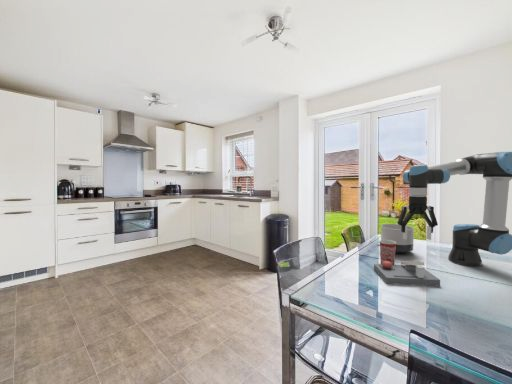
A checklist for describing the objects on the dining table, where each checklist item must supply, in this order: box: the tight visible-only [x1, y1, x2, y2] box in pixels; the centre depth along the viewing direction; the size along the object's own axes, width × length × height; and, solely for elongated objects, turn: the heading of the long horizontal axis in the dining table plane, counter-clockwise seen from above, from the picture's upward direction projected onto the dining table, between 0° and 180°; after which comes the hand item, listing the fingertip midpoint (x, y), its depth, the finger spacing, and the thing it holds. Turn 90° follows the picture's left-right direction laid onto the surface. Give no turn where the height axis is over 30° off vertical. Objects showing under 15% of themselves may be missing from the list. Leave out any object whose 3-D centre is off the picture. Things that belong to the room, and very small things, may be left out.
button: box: [381, 261, 392, 268], centre depth 127 cm, size 4×4×2 cm
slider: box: [416, 265, 426, 278], centre depth 114 cm, size 3×3×5 cm
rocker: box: [400, 260, 425, 266], centre depth 124 cm, size 6×12×2 cm, turn 171°
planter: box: [380, 223, 415, 254], centre depth 161 cm, size 19×19×18 cm
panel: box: [373, 263, 441, 287], centre depth 122 cm, size 24×18×5 cm
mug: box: [379, 239, 397, 265], centre depth 142 cm, size 13×9×14 cm
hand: (416, 238), depth 119 cm, fingers open, 10 cm apart
